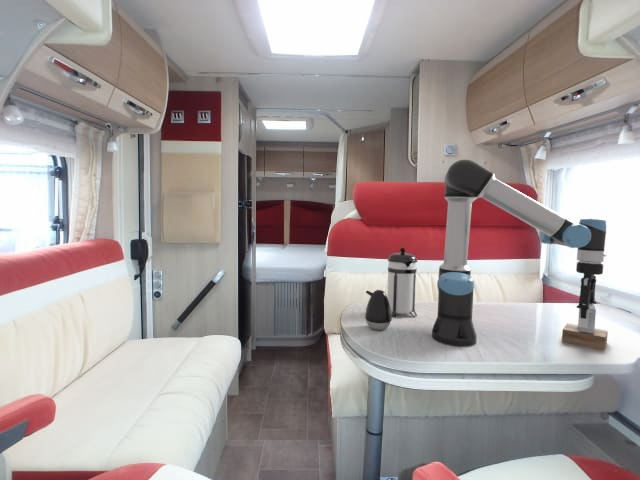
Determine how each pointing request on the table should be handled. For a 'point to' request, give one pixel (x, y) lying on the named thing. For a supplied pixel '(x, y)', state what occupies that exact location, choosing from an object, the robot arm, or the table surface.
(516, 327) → the table surface
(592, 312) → the medicine box
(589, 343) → the walnut block
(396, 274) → the coffee press
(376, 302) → the pump dispenser
